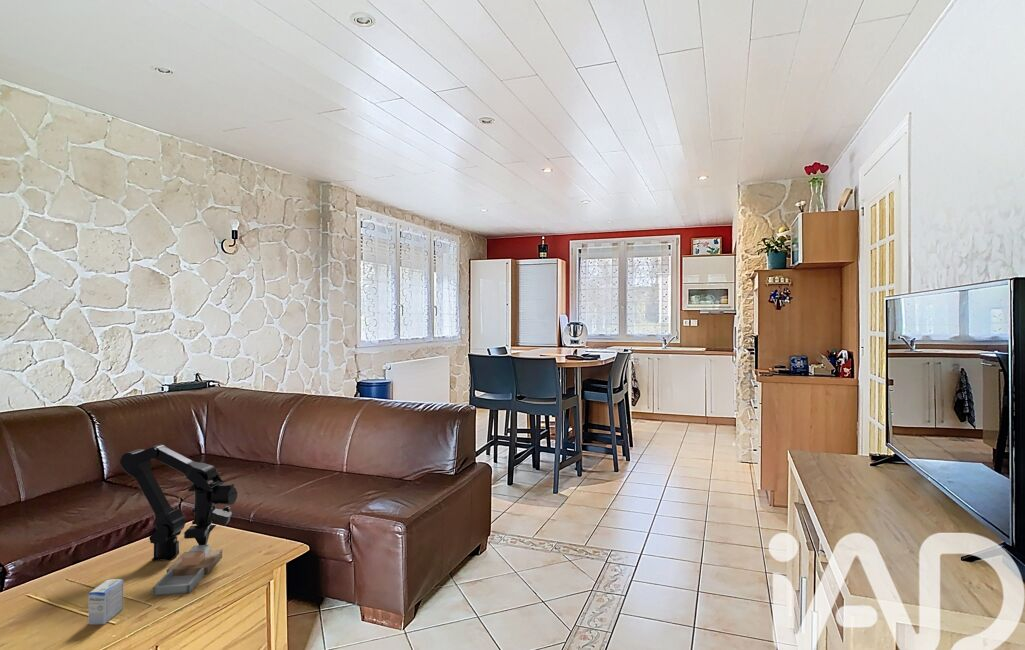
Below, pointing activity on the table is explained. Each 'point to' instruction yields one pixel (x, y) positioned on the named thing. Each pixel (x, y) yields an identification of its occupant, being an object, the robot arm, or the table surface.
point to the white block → (201, 549)
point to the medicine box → (105, 601)
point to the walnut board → (206, 563)
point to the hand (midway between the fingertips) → (203, 549)
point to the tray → (177, 583)
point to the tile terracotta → (192, 558)
